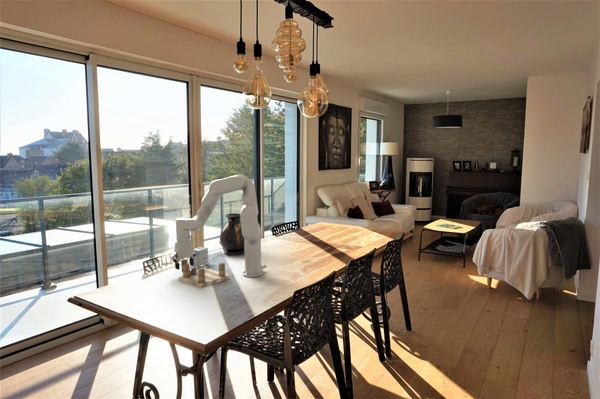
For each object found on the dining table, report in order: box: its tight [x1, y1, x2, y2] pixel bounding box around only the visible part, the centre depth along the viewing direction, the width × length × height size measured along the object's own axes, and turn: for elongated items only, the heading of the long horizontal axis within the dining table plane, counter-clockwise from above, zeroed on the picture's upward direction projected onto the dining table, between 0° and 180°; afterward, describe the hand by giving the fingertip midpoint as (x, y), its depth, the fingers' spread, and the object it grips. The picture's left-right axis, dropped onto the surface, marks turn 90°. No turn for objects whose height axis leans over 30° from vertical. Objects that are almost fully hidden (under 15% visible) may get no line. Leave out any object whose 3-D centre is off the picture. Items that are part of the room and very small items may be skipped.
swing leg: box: [180, 259, 198, 275], centre depth 225 cm, size 12×4×7 cm, turn 51°
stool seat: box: [178, 262, 231, 289], centre depth 219 cm, size 20×20×9 cm
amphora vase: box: [219, 212, 245, 256], centre depth 277 cm, size 22×22×28 cm
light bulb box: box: [188, 246, 209, 268], centre depth 248 cm, size 11×7×11 cm, turn 149°
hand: (184, 267), depth 227 cm, fingers open, 9 cm apart
